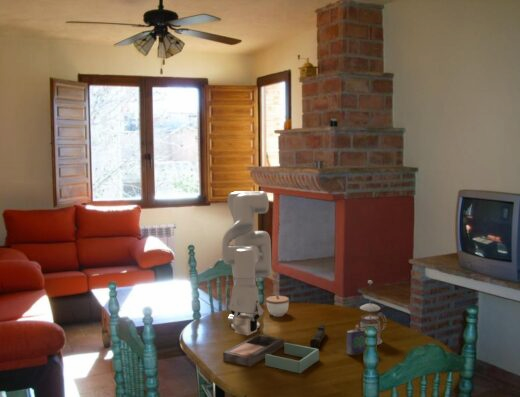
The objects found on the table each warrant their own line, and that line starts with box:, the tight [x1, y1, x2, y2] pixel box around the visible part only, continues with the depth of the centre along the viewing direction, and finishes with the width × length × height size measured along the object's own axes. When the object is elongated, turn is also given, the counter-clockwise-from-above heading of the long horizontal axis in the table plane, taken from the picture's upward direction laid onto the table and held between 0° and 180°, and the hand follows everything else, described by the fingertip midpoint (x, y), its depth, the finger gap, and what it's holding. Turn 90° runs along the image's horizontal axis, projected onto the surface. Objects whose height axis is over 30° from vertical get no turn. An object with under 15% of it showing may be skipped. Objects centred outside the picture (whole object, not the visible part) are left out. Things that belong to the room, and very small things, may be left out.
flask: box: [346, 324, 366, 356], centre depth 208 cm, size 9×3×11 cm, turn 109°
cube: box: [234, 313, 258, 336], centre depth 204 cm, size 6×6×6 cm
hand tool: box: [309, 324, 326, 349], centre depth 223 cm, size 19×4×5 cm, turn 161°
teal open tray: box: [264, 342, 320, 374], centre depth 200 cm, size 14×15×4 cm
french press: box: [359, 279, 387, 346], centre depth 220 cm, size 10×12×25 cm
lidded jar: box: [265, 294, 290, 317], centre depth 260 cm, size 11×11×9 cm
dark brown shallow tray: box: [222, 333, 285, 367], centre depth 210 cm, size 12×24×3 cm, turn 148°
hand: (246, 328), depth 204 cm, fingers closed on cube, 6 cm apart
